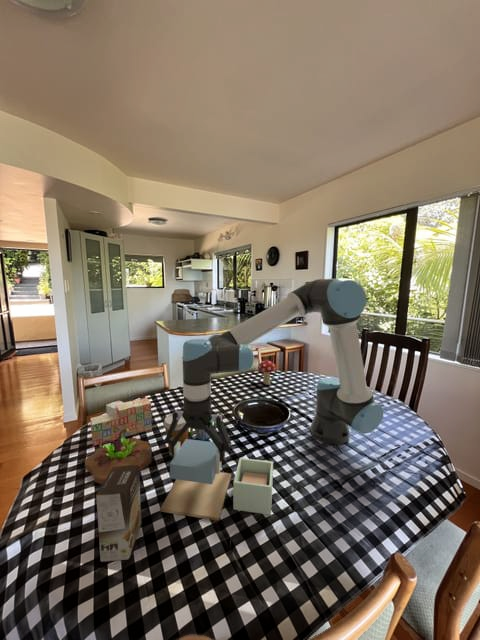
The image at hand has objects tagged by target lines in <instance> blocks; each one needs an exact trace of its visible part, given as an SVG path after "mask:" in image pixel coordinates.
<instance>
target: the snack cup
mask: <svg viewBox="0 0 480 640" xmlns="http://www.w3.org/2000/svg"><path fill="white" fill-rule="evenodd" d="M211 423H212V425H213V427H215V428H217V426H216V424H215V423H214V420H213V419H211ZM193 430H194V429H191V427H189V433H190V434H189V435H190V436H191V437H193V436H194V432H193ZM195 434H196V435H195V436H196V440H199V441H207V440H209V439H211V438H210V437H209V435H208V434H207V433H205V431H204V430H203V429H202V430H199V429H195Z"/></svg>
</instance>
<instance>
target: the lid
mask: <svg viewBox="0 0 480 640" xmlns="http://www.w3.org/2000/svg"><path fill="white" fill-rule="evenodd" d="M217 450H218V448H217V447H216V445H215V444H214V442H213V441H207V440H199V439H190V438H188V439H186V440H185V441H184V443H183V444H182V446H181V448H180V449H179V451H178V452H177V454H176V455H175V457H174V456H173V459H172V460H171V461H170V463H169V475H170V476H169V479H172V480H176V479H178V480H185V481H192V482H199V483H206V484H212V483H213V481H214V478H215V475H216V472H217V458H216V452H217Z"/></svg>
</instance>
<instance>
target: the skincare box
mask: <svg viewBox="0 0 480 640" xmlns="http://www.w3.org/2000/svg"><path fill="white" fill-rule="evenodd" d="M121 403H125V402H124V401H121V400H117V401H113V402H110V403H108V404H107V403H106V405H105V406H106V407H105V408H106V414H110V413H114V412H116V405H117V404H121Z"/></svg>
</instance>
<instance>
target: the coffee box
mask: <svg viewBox="0 0 480 640" xmlns="http://www.w3.org/2000/svg"><path fill="white" fill-rule="evenodd" d="M140 481H141V480H140V471H139V465H127V466H121V467H113V468H112V470H111V471H110V473H109V475H108V476H107V478H106V479H105V481H104V483H103V484H101V485H100V487H99V489H98V491H96V495H95V497H96V510H97V511H96V513H97V524H98V525H97V527H98V528H97V530H98V541H99V555H100V556H99V558H100V562H112V561H115V562H116V561H125V560H126V561H127V560H129V559H130V557H131V555H132V553H133V549H134V546H135V543H136V540H137V537H138V534H139V531H140V528H141V527H142V526H141V525H142V508H141V505H142V504H141V487H140V486H141V485H140V484H141V483H140Z"/></svg>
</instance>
